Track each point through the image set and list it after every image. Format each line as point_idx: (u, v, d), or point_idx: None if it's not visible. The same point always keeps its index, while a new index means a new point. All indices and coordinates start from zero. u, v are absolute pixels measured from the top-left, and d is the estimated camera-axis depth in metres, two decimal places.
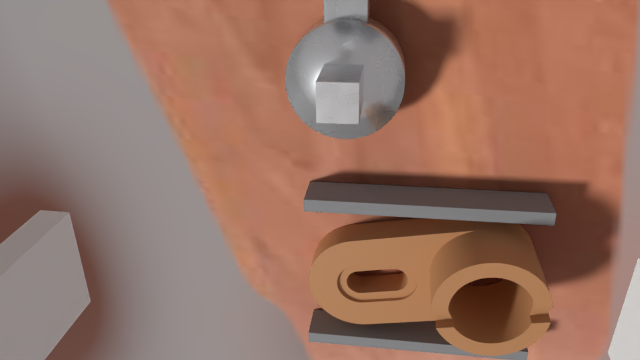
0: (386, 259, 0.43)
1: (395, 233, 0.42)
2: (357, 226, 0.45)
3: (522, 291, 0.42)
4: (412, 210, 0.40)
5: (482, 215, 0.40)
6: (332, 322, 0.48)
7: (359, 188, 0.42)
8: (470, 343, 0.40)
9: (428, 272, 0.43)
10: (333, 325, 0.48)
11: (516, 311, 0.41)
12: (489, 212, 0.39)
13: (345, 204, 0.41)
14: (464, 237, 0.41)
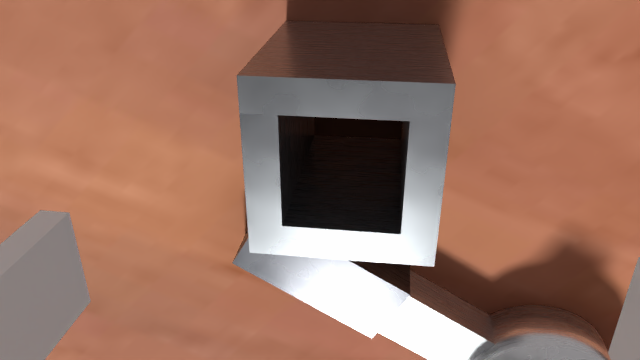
0: None
1: None
2: None
3: None
4: None
5: None
6: None
7: None
8: None
9: None
10: None
11: None
12: None
13: None
14: None
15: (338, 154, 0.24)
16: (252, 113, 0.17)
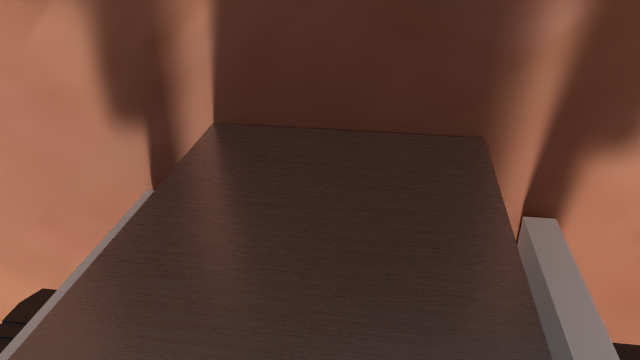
0: None
1: None
2: None
3: None
4: None
5: None
6: None
7: None
8: None
9: None
10: None
11: None
12: None
13: None
14: None
15: None
16: None
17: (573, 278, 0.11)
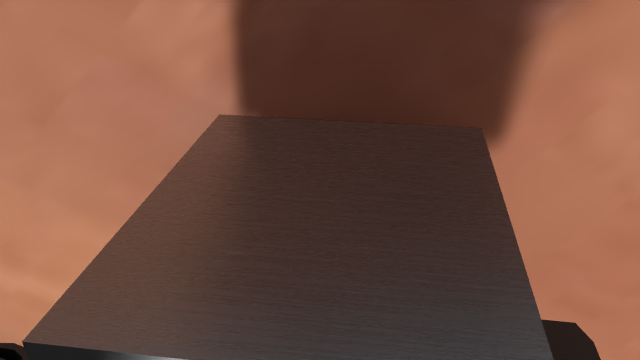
0: None
1: None
2: None
3: None
4: None
5: None
6: None
7: None
8: None
9: None
10: None
11: None
12: None
13: None
14: None
15: None
16: None
17: None
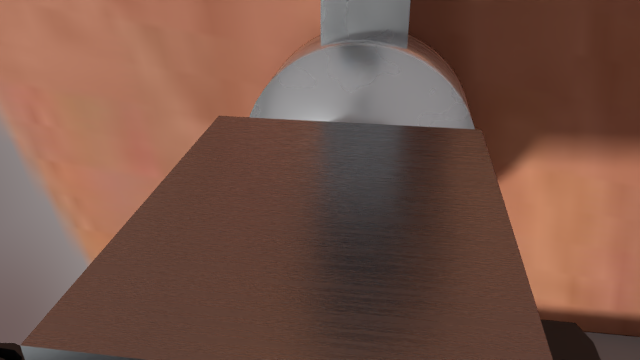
0: None
1: None
2: None
3: None
4: None
5: None
6: None
7: None
8: None
9: None
10: None
11: None
12: None
13: None
14: None
15: None
16: None
17: None
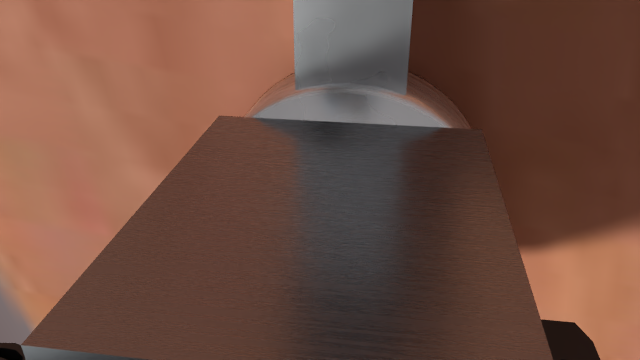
0: None
1: None
2: None
3: None
4: None
5: None
6: None
7: None
8: None
9: None
10: None
11: None
12: None
13: None
14: None
15: None
16: None
17: None
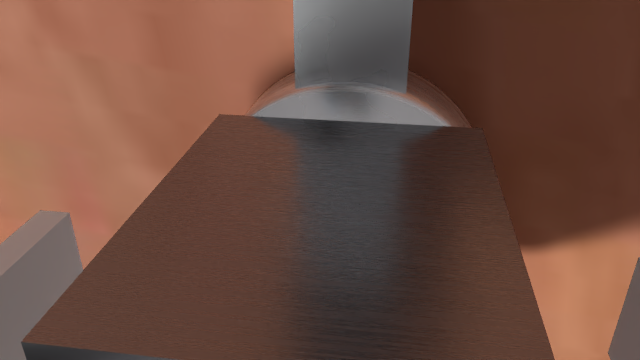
0: None
1: None
2: None
3: None
4: None
5: None
6: None
7: None
8: None
9: None
10: None
11: None
12: None
13: None
14: None
15: None
16: None
17: None
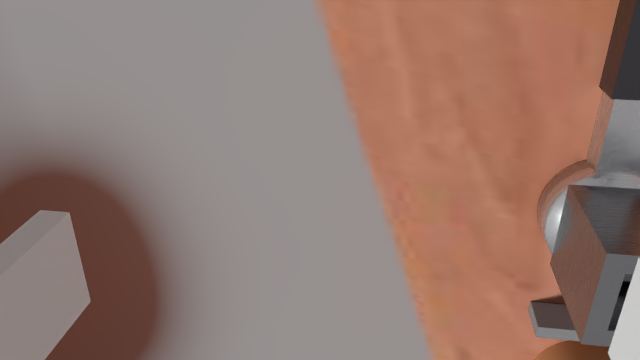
0: None
1: None
2: None
3: None
4: None
5: None
6: None
7: None
8: None
9: None
10: None
11: None
12: None
13: None
14: None
15: None
16: (609, 272, 0.30)
17: None
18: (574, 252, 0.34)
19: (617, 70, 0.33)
